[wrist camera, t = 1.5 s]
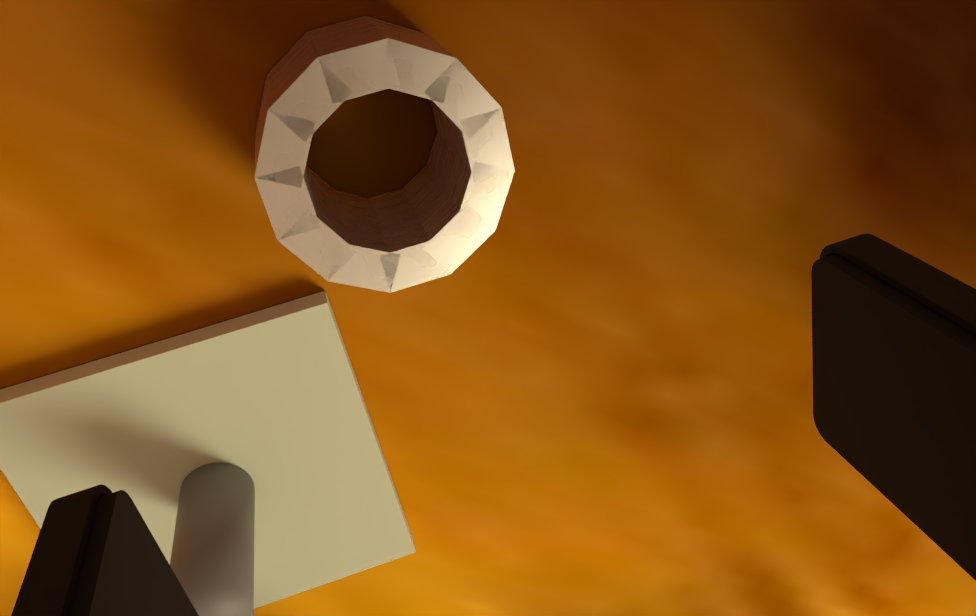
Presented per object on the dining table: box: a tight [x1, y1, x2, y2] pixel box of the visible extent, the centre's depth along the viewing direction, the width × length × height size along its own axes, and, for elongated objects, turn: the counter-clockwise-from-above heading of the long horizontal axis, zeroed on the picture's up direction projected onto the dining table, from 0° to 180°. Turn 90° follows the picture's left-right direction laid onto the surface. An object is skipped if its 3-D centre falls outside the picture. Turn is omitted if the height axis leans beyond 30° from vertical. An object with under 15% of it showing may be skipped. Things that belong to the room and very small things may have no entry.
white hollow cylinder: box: [254, 16, 515, 292], centre depth 24 cm, size 7×7×5 cm
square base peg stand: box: [0, 291, 416, 616], centre depth 27 cm, size 12×12×7 cm
